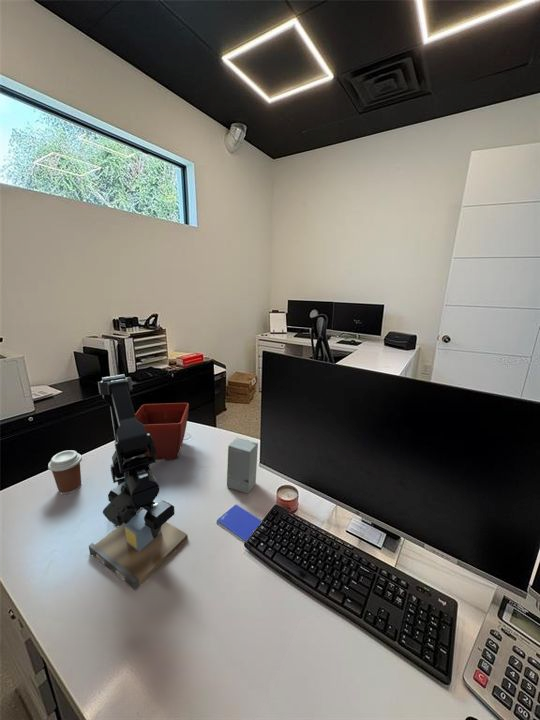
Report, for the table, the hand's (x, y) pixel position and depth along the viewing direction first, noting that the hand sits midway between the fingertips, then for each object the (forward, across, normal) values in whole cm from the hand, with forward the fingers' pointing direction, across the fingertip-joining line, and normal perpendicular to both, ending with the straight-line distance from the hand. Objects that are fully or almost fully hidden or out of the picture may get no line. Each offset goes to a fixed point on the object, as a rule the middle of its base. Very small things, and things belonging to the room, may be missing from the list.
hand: (143, 529), depth 78 cm
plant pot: (+4, -30, +32) cm, 44 cm away
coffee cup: (+4, -39, +1) cm, 39 cm away
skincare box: (+4, +9, +32) cm, 34 cm away
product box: (+2, 0, 0) cm, 3 cm away
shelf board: (+4, 0, -1) cm, 4 cm away
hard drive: (+5, +19, +18) cm, 26 cm away
